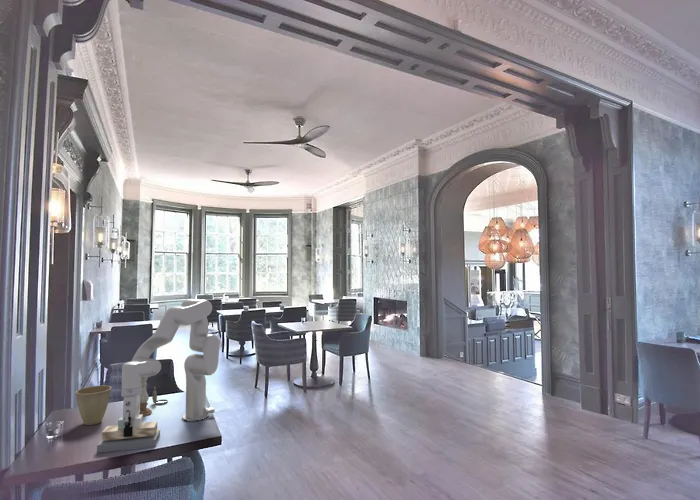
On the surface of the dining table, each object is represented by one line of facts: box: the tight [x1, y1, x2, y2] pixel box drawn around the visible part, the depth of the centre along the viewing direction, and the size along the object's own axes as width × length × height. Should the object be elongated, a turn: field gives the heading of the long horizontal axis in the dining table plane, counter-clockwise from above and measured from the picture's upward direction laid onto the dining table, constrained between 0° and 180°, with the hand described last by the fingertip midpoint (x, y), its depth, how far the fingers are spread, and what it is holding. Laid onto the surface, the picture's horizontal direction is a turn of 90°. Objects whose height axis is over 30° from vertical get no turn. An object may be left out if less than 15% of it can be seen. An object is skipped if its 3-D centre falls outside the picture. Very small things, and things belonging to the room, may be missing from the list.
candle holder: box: [139, 376, 153, 417], centre depth 213 cm, size 9×9×20 cm
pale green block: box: [117, 415, 130, 430], centre depth 176 cm, size 4×5×4 cm
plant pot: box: [75, 385, 112, 426], centre depth 202 cm, size 15×15×16 cm
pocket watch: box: [151, 387, 169, 405], centre depth 230 cm, size 8×8×10 cm
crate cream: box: [130, 414, 144, 429], centre depth 178 cm, size 4×5×4 cm
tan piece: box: [101, 420, 158, 441], centre depth 177 cm, size 20×7×4 cm, turn 105°
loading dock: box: [96, 429, 161, 453], centre depth 177 cm, size 22×11×3 cm, turn 105°
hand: (130, 432), depth 177 cm, fingers closed on tan piece, 7 cm apart
